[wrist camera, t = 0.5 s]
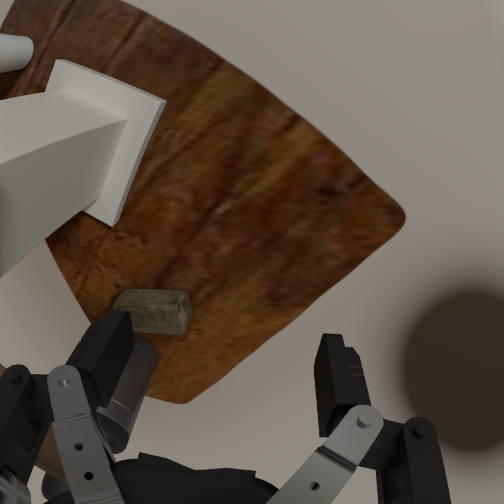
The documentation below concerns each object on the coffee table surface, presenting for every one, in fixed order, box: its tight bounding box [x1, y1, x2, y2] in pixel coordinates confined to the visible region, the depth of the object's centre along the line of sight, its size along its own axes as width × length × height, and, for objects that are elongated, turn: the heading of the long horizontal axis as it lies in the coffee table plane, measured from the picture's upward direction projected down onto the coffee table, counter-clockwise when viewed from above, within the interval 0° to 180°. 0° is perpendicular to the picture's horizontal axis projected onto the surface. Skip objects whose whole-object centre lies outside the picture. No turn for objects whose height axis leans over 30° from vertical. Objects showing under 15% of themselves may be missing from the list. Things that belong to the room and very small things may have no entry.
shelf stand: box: [0, 60, 167, 278], centre depth 24 cm, size 18×17×30 cm
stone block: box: [113, 288, 192, 335], centre depth 47 cm, size 6×12×5 cm, turn 94°
